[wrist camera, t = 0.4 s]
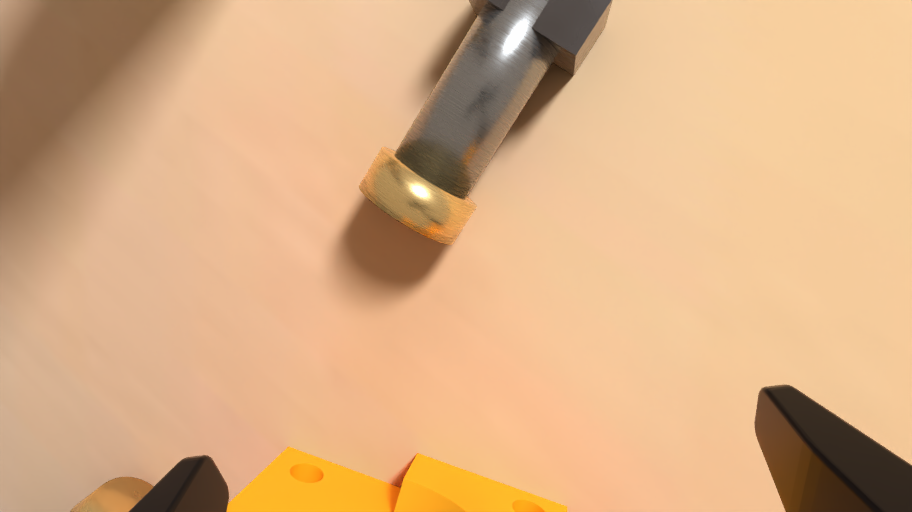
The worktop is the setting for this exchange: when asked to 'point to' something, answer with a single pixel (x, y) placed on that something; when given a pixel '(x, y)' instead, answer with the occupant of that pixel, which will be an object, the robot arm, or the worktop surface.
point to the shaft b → (478, 108)
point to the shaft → (115, 496)
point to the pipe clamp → (378, 490)
